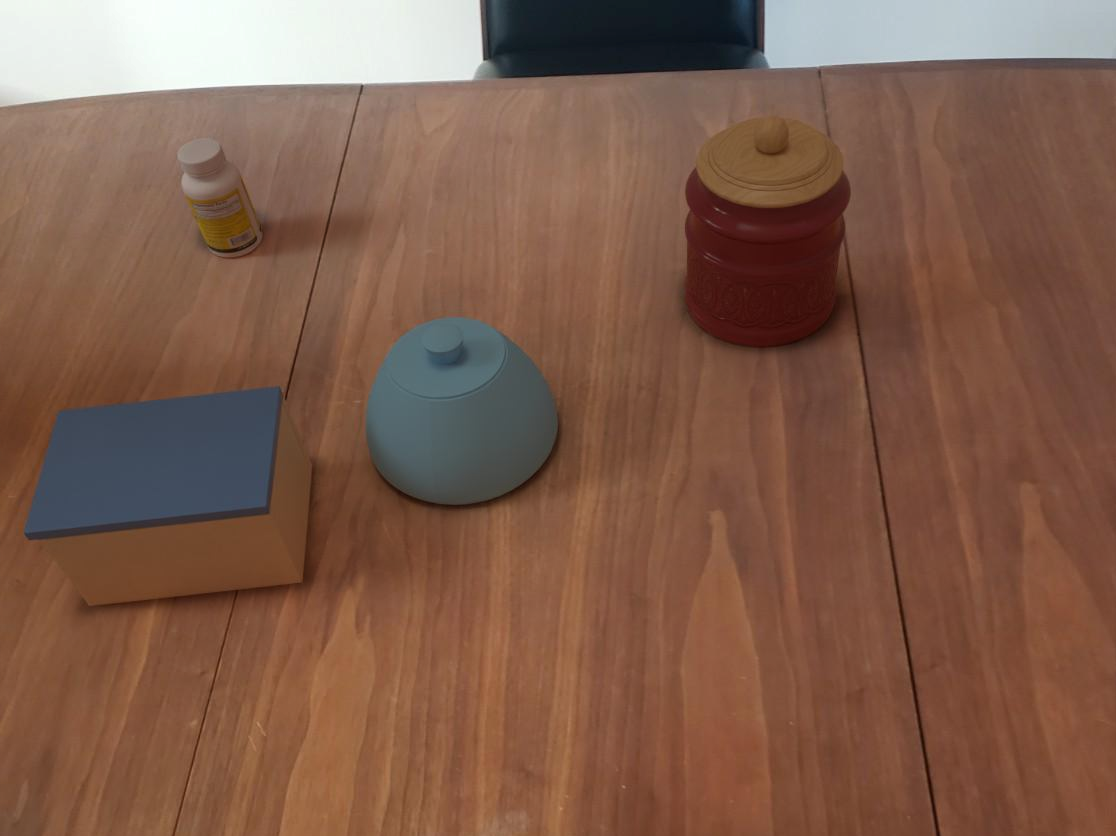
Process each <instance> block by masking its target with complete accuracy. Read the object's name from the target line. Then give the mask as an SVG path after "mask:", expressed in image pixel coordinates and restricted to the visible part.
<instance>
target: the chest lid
mask: <svg viewBox="0 0 1116 836" xmlns="http://www.w3.org/2000/svg"><path fill="white" fill-rule="evenodd" d="M283 395H284V393H283V391H282V388H281V386H269V387H260V388H253V389H252V388H251V389H243V390H234V391H226V392H224V391H223V392H216V393H205V394H197V395H187V396H180V397H179V396H178V397H169V398H161V399H151V400H143V401H134V402H125V403H116V404H107V405H97V406H89V407H88V406H87V407H79V408H69V409H61V410H58V411H57V414H56V417H55V422H54V425H53V428H52V431H51V435H50V438H49V442H48V446H47V448H46V449H47V450H46V453H45V456H44V460H43V463H42V467H41V469H40V474H39V477H38V479H37V480H38V481H37V484H36V487H35V491H34V495H33V498H32V502H31V505H30V508H29V513H28V516H27V519H26V524H25V527H24V529H23V535H24V536H25V538H26V539H27V540H28V541H36V540H38V541H39V539H47V538H56V537H65V536H74V535H83V534H92V533H101V532H110V531H119V530H128V529H137V528H146V527H155V526H164V525H173V524H182V523H191V522H200V521H209V520H218V519H227V518H236V517H245V516H254V515H263V514H269V513H270V505H271V496H272V487H273V478H274V469H275V461H276V452H277V443H278V434H279V425H280V416H281V407H282V398H283Z"/></svg>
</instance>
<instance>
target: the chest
mask: <svg viewBox="0 0 1116 836" xmlns="http://www.w3.org/2000/svg"><path fill="white" fill-rule="evenodd" d="M312 473H313V464H312V462H311V460H310V457H309V454H308V452H307V449H306V447H305V445H304V443H303V440H302V437H301V435H300V432H299V429H298V426H297V425H296V421H295V420H294V418H293V415H292V413H291V410H290V408H289V405H288V402H287V400H286V398H285V395H284V394H283V398H282V407H281V416H280V425H279V434H278V443H277V452H276V461H275V469H274V478H273V487H272V496H271V505H270V513H269V514H263V515H254V516H245V517H236V518H227V519H218V520H209V521H200V522H191V523H182V524H173V525H164V526H155V527H146V528H137V529H128V530H119V531H110V532H101V533H92V534H83V535H74V536H65V537H56V538H47V539H38V541H39V543H40V544H41V546H43V548H44V549H45V551H47V553H48V554H49V556H50V557H51V558H52V559H53V561H54V562H55V563H56V565H57V566H58V567H59V568H60V570H61V571H62V572H63V573H64V575H65V576H66V578H67V579H68V580H69V581H70V583H71V584H72V585H73V587H74V588H75V589H76V591H77V592H78V594H79V595H80V596H81V597H82V598H83V600H84V601H85V602H86V604H87V605H88V606H89V607H94V606H102V605H112V604H120V603H129V602H139V601H140V602H141V601H148V600H157V599H165V598H166V599H167V598H175V597H185V596H193V595H201V594H209V593H210V594H212V593H218V592H219V593H221V592H228V591H236V590H247V589H256V588H264V587H265V588H266V587H273V586H282V585H291V584H292V585H293V584H301V583H303V579H304V571H305V570H304V569H305V568H304V567H305V558H306V557H305V555H306V546H307V532H308V523H309V522H308V520H309V511H310V510H309V509H310V496H311V486H312Z"/></svg>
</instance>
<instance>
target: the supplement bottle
mask: <svg viewBox="0 0 1116 836" xmlns="http://www.w3.org/2000/svg"><path fill="white" fill-rule="evenodd" d="M176 156H177V160H178V162H179V165H180V167H181V170H182V171H183V174H182V176H181V189H182V192H183V194H184V196H185V198H186V200H187V202H188V205H189V207H190V210H191V211H192V214H193V216H194V219H195V221H196V223H197V225H198V228H199V230H200V232H201V234H202V237H203V239H204V241H205V244H206V245H207V248H208V249H209V251H210V252H211V253H212V254H214V255H215V256H218V257H221V258H238V257H241V256H244V255H247V254H248V253H249V254H250V253H251V252H252V251H254V250H255V249H256V248H257V247H259V245H260V244H261V242H262V240H263V230H262V227H261V224H260V221H259V218H258V215H257V214H256V211H255V209H254V206H253V203H252V200H251V198H250V195H249V193H248V190H247V186H246V185H245V182H244V180H243V176H242V174H241V172H240V170H239V168H238V166H237V165H236V164H235V163H234V162H232V161H230V160H228V159H227V157H226V155H225V152H224V150H223V146H222V145H221V143H220V142H219V141H218V140H217V139H214V138H210V137H202V138H197V139H193V140H190V141H188V142H186V143H185V144H183V145H182V146H181V147H180V148H179V149H178V150H177V154H176Z"/></svg>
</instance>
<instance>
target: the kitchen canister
mask: <svg viewBox="0 0 1116 836" xmlns="http://www.w3.org/2000/svg"><path fill="white" fill-rule="evenodd" d="M842 153H843V152H842V151H841V149H840V148H839V146H838V145H837V143H836V142H835V141H834V140H833V139H832V138H830V137H829V136H828V135H826V134H825V133H823V132H821V131H820V130H817V129H815V128H814V127H812V126H810V125H809V124H807V123H804V122H802V121H799V120H797V119H792V118H786V117H781V116H779V115H773V114H772V115H767V116H764V117H763V116H762V117H755V118H750V119H746V120H743V121H740V122H738V123H735V124H734V125H731V126H729V127H726V128H724V129H722V130H721V131H719V132H717V133H716V134H714V135H712V136H711V137H710V138H708V140H706V141H705V143H703V145H702V146H701V148H700V149H699V151H698V153H697V155H696V162H695V167H694V168H693V169H692V171H691V172H690V174H689V176H688V178H687V180H686V183H685V188H684V195H685V201H686V204H687V207H688V208H689V211H688V213H687V215H686V218H685V222H684V234H685V238H686V277H685V279H684V280H685V281H684V301H685V306H686V308H687V309H686V310H687V312H688V313H689V315H690V316H691V318H692V319H693V321H694V322H695V323H696V324H697V326H699V328H701V330H703V331H705V332H706V333H708V334H709V335H711V336H713V337H715V338H716V339H719V340H721V341H724V342H727V343H730V344H733V345H737V346H744V347H750V348H751V347H753V348H769V347H776V346H778V347H779V346H783V345H788V344H791V343H794V342H798V341H801V340H803V339H804V338H807V337H808V336H810V335H812V334H813V333H815V332H816V331H817V330H819V329H820V328H821V327H822V326H823V325H824V324H825V323H826V321H827V320H828V319H829V317H830V315H831V314H832V312H833V310H834V307H835V304H836V296H837V290H838V289H837V288H838V286H837V276H838V270H839V269H838V268H839V261H840V255H841V248H842V244H843V242H844V239H845V235H846V219H845V217H844V213H845V211H846V209H847V208H848V206H849V203H850V201H851V195H852V194H851V193H852V189H851V188H852V187H851V183H850V180H849V177H848V176H847V173H846V171H844V166H845V165H844V164H845V163H844V156H843V154H842Z"/></svg>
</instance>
